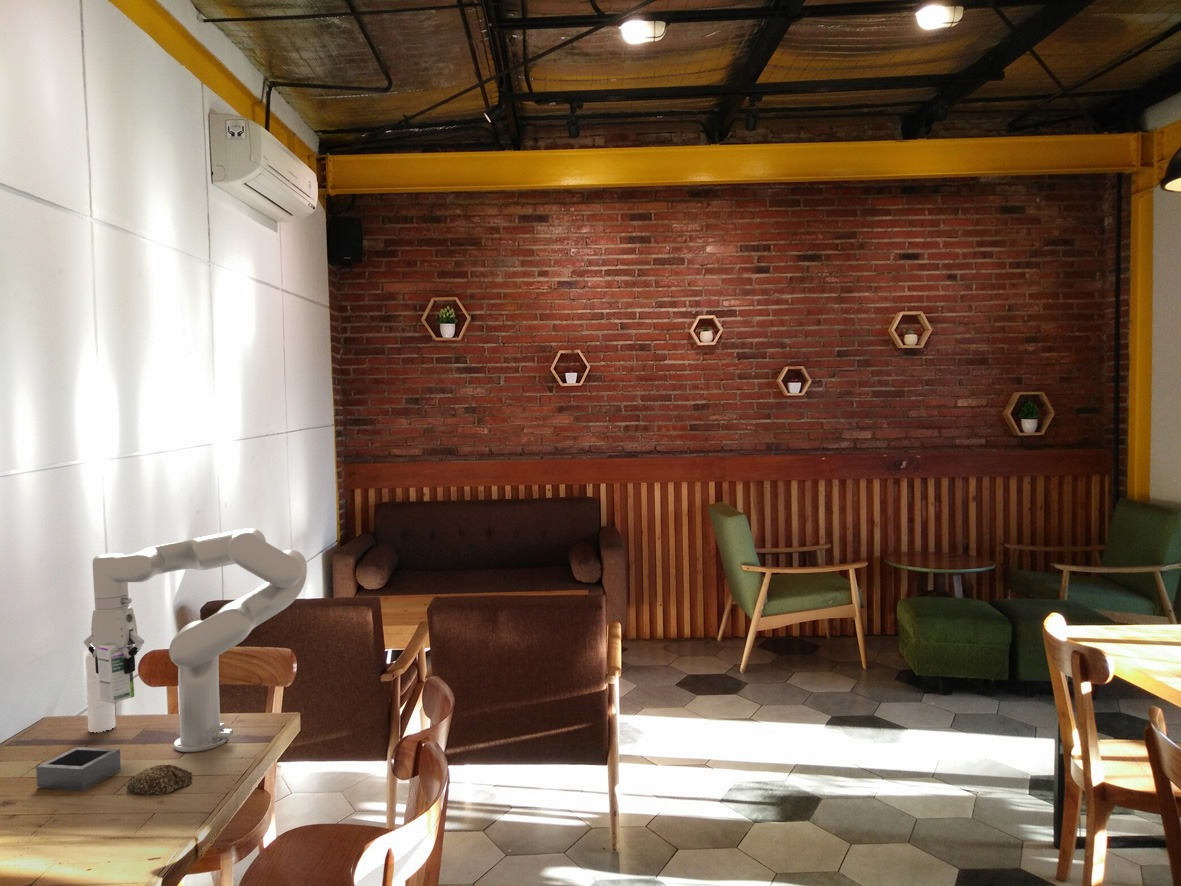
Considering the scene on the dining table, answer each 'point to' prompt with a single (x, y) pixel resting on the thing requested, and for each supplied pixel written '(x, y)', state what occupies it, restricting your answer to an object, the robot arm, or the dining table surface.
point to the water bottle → (97, 701)
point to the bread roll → (159, 780)
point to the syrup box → (113, 675)
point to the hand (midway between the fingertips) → (115, 671)
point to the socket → (78, 768)
